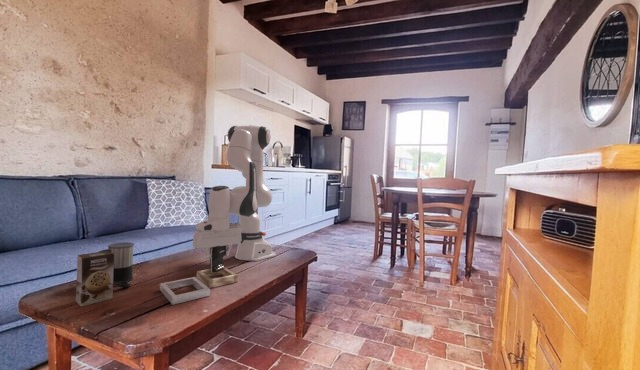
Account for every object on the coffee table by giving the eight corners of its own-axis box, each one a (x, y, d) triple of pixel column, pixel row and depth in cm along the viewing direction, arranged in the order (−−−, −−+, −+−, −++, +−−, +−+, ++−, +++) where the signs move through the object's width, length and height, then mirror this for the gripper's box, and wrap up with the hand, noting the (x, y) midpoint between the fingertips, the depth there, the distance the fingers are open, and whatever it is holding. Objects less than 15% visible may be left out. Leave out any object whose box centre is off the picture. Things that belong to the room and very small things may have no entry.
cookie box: (81, 307, 96) (82, 258, 96) (75, 301, 100) (76, 254, 99) (113, 298, 103) (114, 253, 103) (106, 293, 107) (108, 249, 107)
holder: (194, 282, 121) (194, 276, 121) (209, 295, 109) (210, 289, 109) (159, 290, 113) (160, 283, 112) (172, 304, 101) (172, 297, 101)
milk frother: (122, 275, 126) (123, 241, 126) (150, 281, 121) (151, 245, 121) (87, 286, 113) (88, 248, 113) (116, 293, 108) (117, 253, 107)
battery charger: (216, 273, 122) (217, 246, 121) (209, 272, 123) (209, 245, 123) (227, 268, 128) (227, 242, 128) (219, 267, 130) (220, 242, 129)
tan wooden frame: (223, 272, 135) (223, 266, 135) (237, 282, 124) (237, 275, 124) (196, 278, 127) (196, 271, 127) (209, 288, 116) (209, 280, 116)
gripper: (238, 221, 134) (236, 251, 135) (191, 224, 120) (190, 258, 121) (244, 223, 129) (243, 254, 130) (197, 227, 116) (196, 262, 116)
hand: (217, 256), depth 125 cm, fingers closed on battery charger, 7 cm apart
